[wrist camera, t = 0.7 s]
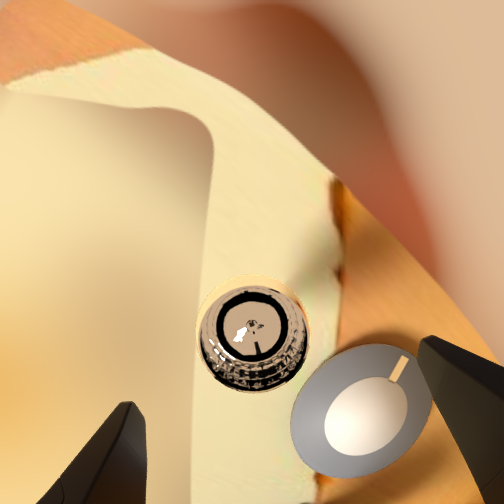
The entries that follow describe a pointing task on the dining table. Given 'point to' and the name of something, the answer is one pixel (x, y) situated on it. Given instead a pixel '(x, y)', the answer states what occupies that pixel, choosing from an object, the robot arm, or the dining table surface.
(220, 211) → the dining table surface
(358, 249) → the dining table surface
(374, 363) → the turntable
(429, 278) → the dining table surface
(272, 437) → the dining table surface
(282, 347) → the wineglass
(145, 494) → the robot arm
